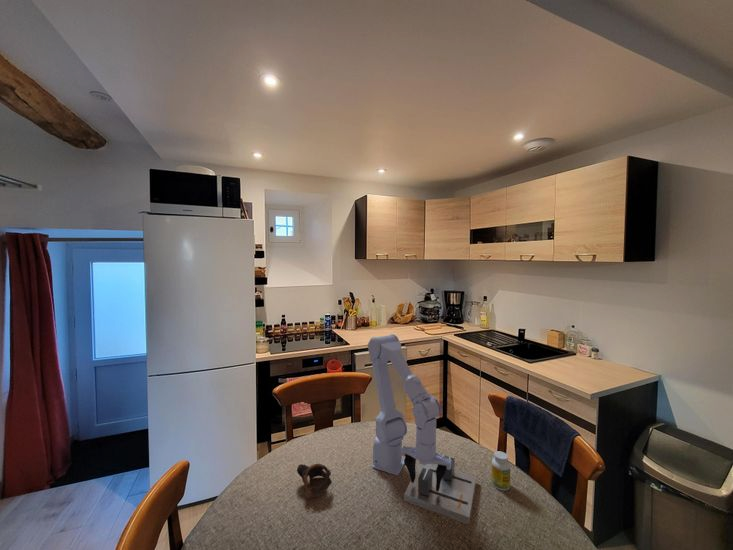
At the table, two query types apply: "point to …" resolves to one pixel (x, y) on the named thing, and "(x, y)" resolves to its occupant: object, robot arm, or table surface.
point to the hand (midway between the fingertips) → (425, 484)
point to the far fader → (450, 473)
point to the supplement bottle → (500, 471)
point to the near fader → (425, 481)
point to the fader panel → (445, 494)
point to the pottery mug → (313, 472)
